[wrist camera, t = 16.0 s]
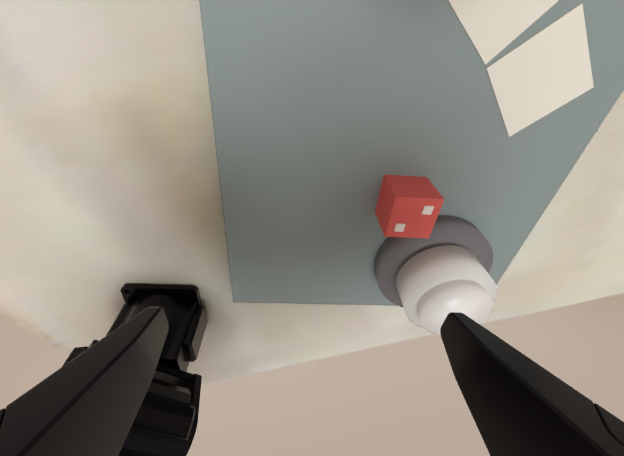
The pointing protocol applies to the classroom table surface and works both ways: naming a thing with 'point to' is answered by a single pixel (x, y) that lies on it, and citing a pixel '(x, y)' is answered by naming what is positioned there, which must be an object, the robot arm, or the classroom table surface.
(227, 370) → the classroom table surface
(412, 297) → the pop dome
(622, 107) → the classroom table surface
